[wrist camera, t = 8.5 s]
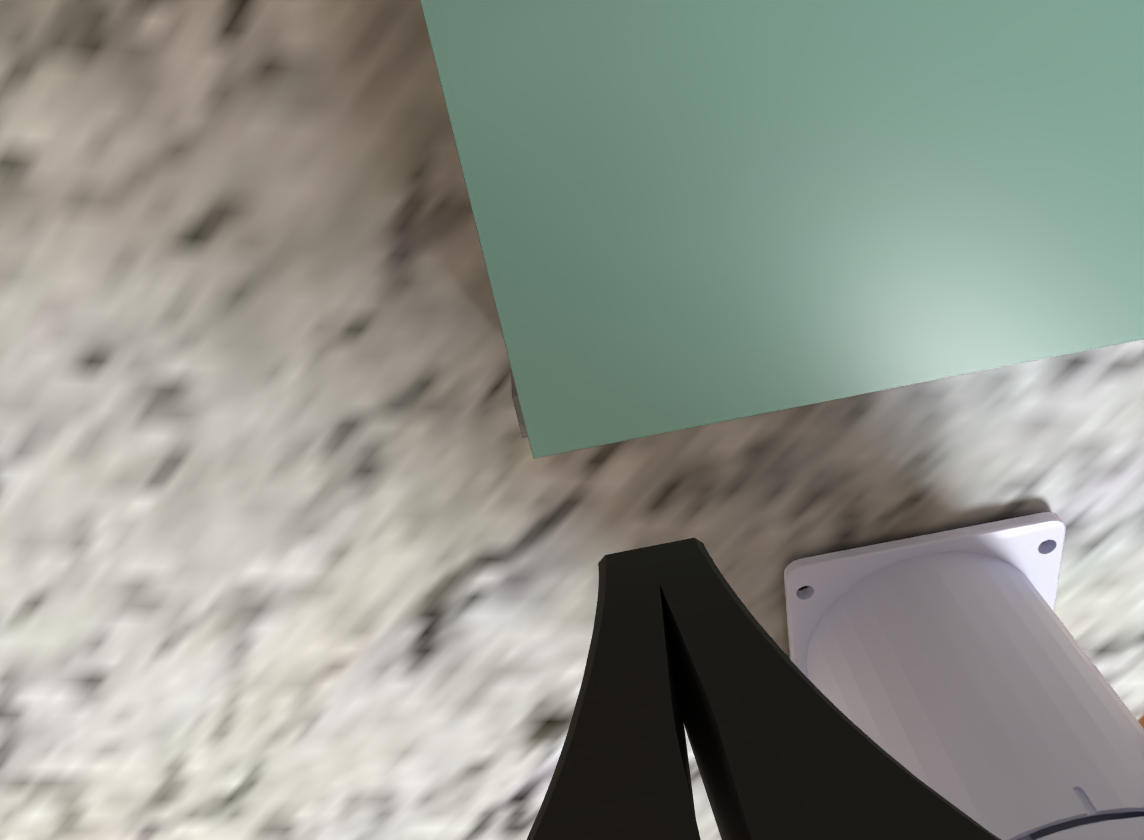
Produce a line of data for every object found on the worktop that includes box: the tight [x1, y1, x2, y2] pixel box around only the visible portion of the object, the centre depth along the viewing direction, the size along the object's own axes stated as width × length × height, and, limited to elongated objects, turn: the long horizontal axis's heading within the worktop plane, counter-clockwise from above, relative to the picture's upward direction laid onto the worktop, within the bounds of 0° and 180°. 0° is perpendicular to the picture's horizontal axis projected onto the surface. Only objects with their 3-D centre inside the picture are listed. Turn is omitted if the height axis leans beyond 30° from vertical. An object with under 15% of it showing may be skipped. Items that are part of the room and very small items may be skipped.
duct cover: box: [420, 0, 1144, 458], centre depth 15 cm, size 10×22×1 cm, turn 100°
